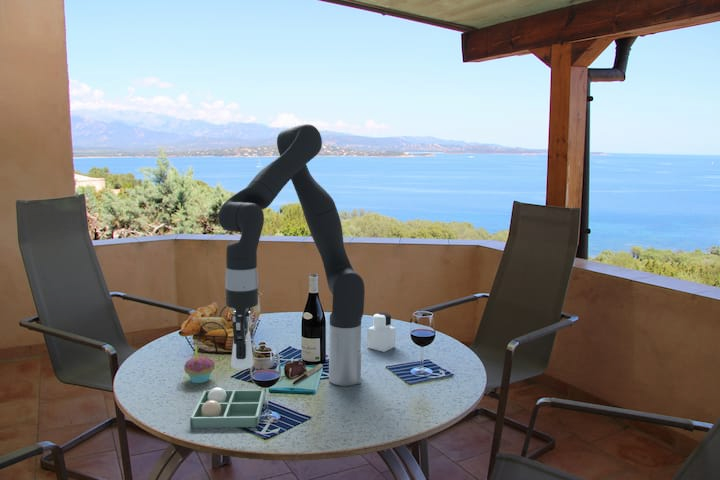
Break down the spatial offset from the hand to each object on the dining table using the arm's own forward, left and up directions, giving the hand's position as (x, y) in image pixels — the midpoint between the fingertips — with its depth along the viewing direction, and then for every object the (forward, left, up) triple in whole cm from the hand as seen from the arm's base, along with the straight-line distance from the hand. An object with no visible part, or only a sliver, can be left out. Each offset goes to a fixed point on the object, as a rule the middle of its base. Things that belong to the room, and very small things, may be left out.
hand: (242, 354), depth 132 cm
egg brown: (+8, 0, -17) cm, 18 cm away
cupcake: (+16, -25, -17) cm, 34 cm away
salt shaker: (0, 0, -3) cm, 3 cm away
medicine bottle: (-40, -53, -17) cm, 69 cm away
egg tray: (+4, -4, -17) cm, 18 cm away
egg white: (+8, -8, -17) cm, 20 cm away
